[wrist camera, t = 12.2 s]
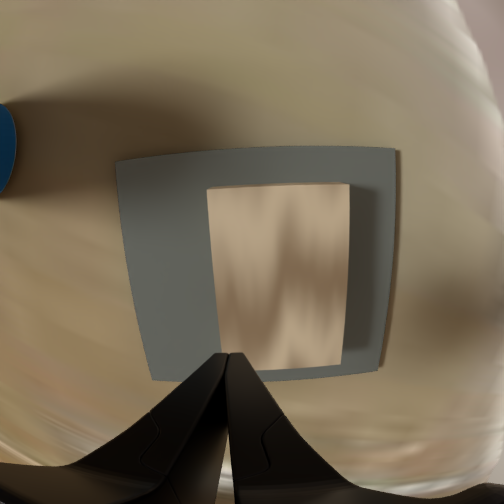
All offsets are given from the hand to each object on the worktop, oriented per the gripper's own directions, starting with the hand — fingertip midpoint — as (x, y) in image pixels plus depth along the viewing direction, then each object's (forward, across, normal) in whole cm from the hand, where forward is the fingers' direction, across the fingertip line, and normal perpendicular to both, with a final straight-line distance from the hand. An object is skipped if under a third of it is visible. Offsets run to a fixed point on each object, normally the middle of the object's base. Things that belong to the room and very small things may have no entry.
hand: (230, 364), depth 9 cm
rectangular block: (+6, +1, 0) cm, 6 cm away
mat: (+8, -1, 0) cm, 8 cm away
